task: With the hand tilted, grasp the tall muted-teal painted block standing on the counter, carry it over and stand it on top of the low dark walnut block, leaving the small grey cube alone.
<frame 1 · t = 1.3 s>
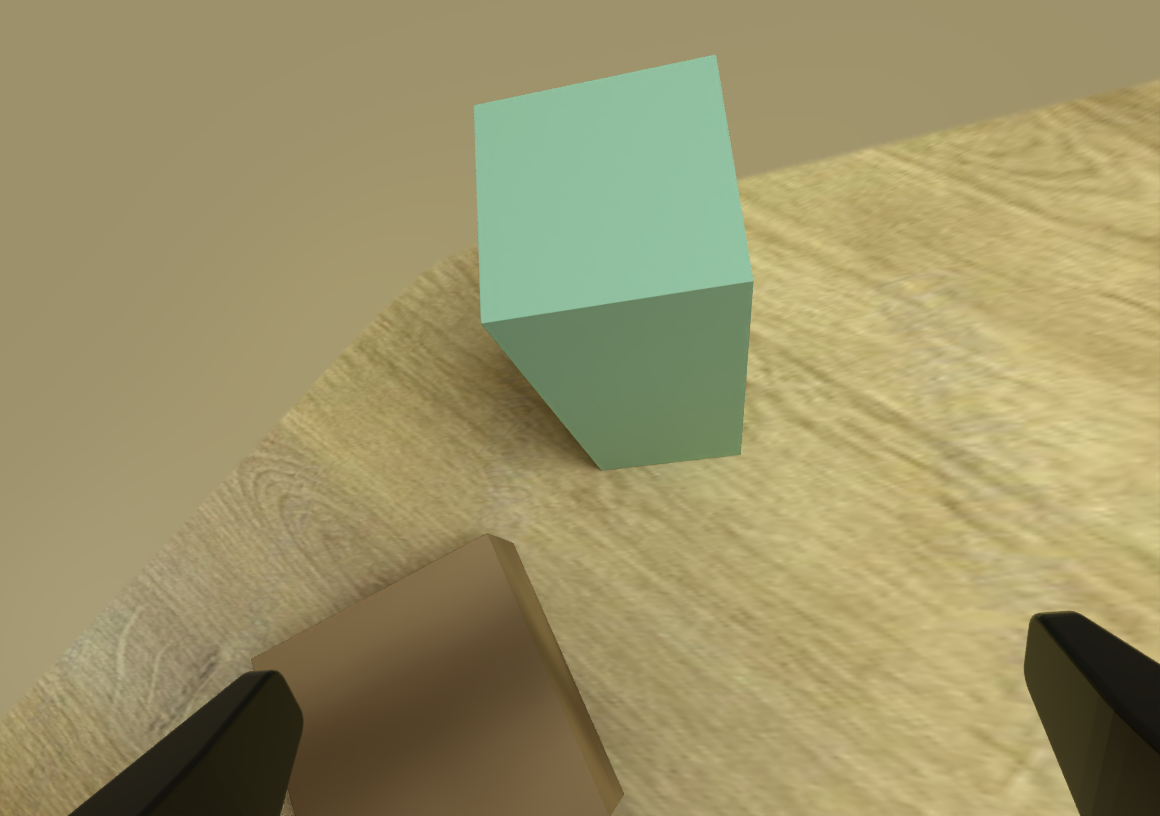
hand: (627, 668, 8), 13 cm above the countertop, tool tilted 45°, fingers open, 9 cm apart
teal block: (662, 396, 23), on the countertop
walnut block: (455, 718, 22), on the countertop
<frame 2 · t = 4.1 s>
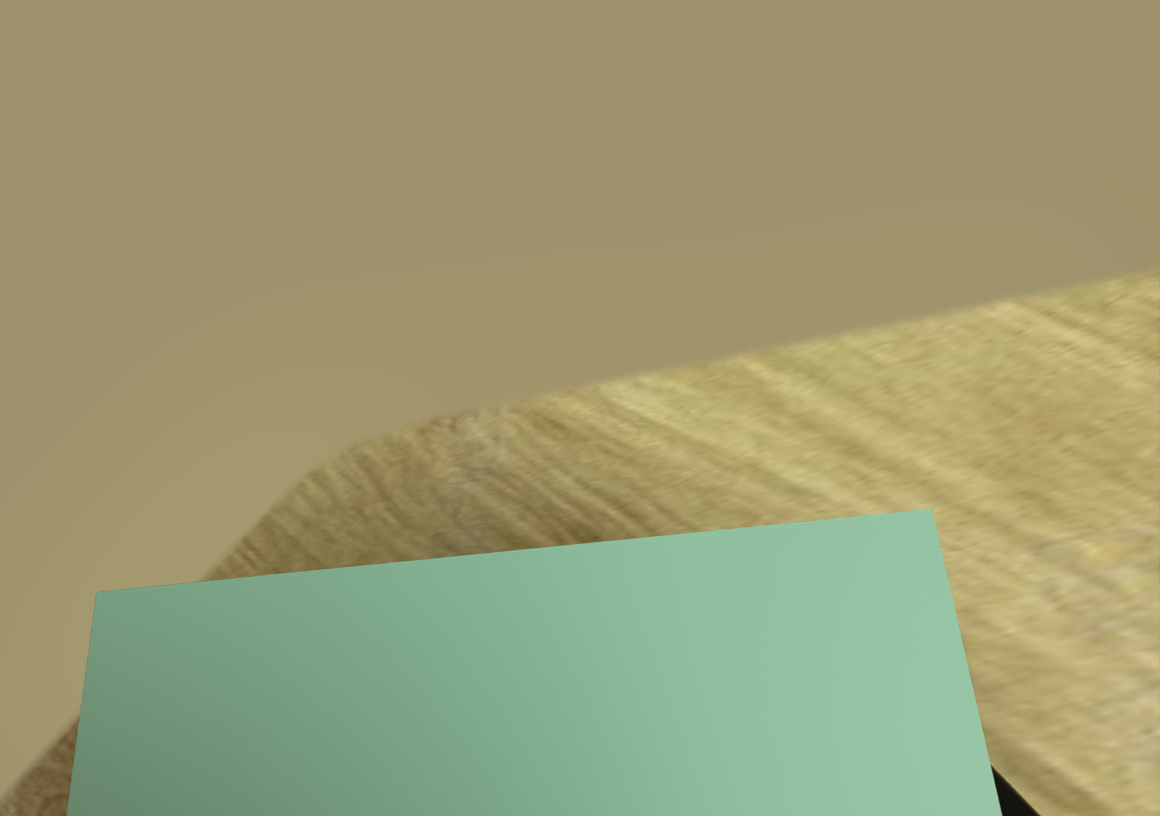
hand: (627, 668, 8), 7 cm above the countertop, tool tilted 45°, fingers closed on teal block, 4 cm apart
teal block: (677, 722, 14), on the countertop, touching gripper
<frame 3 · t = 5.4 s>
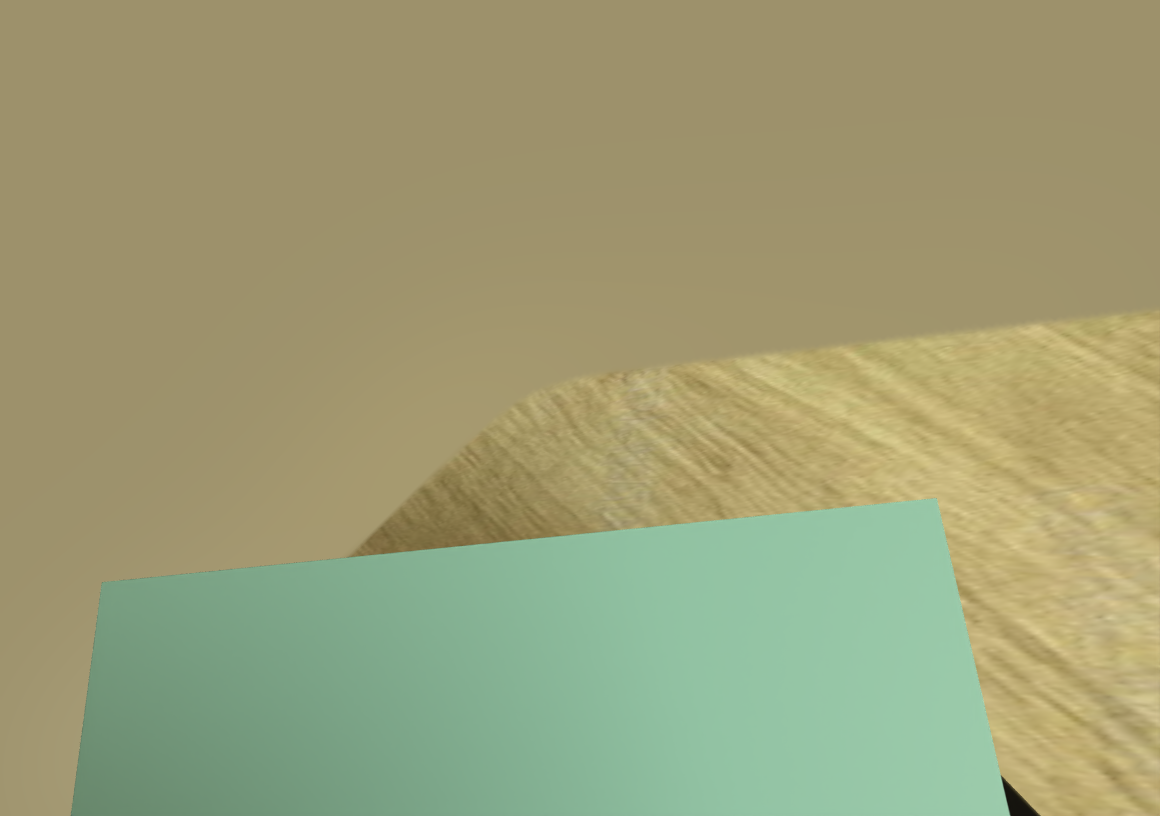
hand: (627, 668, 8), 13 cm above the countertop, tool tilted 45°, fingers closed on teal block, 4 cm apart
teal block: (678, 719, 14), point 7 cm above the countertop, touching gripper
when the fingers open (10 cm above the countertop, at t = 6.9 s): teal block drops 1 cm, resting on walnut block.
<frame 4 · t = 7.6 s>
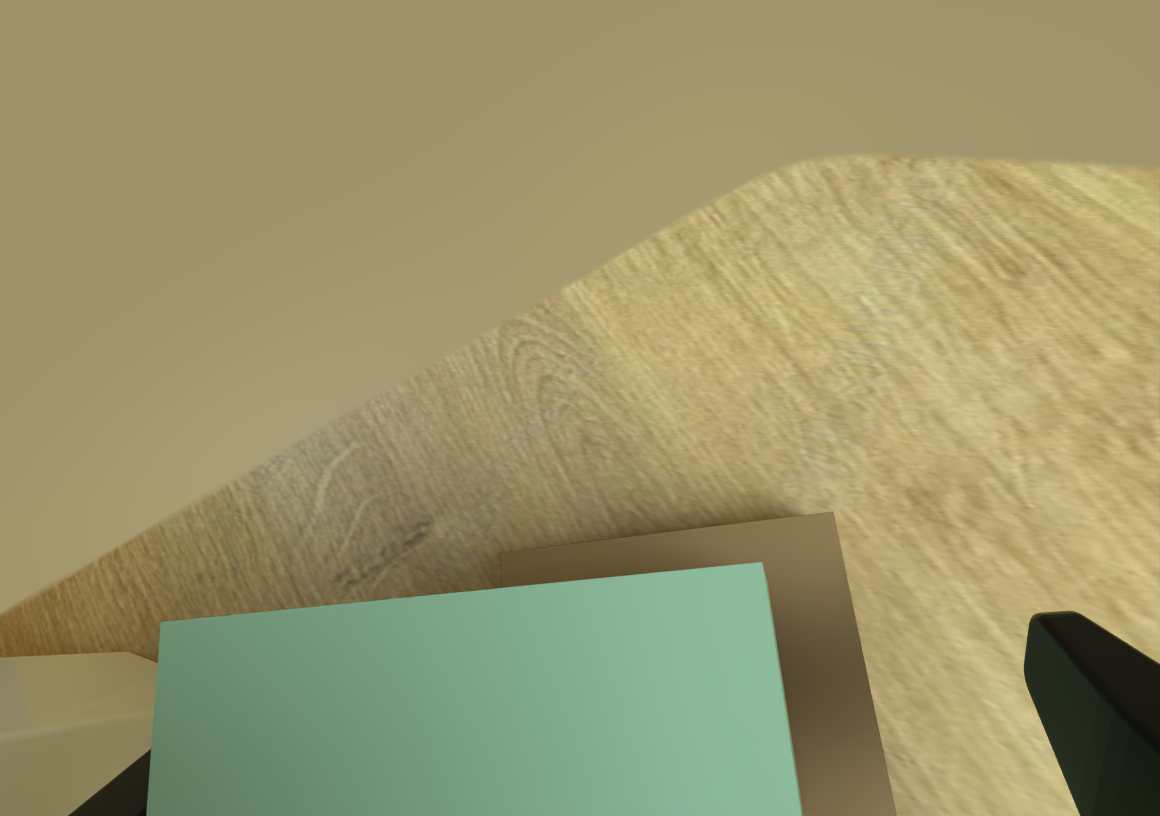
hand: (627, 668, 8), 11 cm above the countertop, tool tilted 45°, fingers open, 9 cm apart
teal block: (679, 697, 15), point 3 cm above the countertop, touching walnut block
walnut block: (690, 699, 18), on the countertop, touching teal block
jar: (141, 811, 20), on the countertop
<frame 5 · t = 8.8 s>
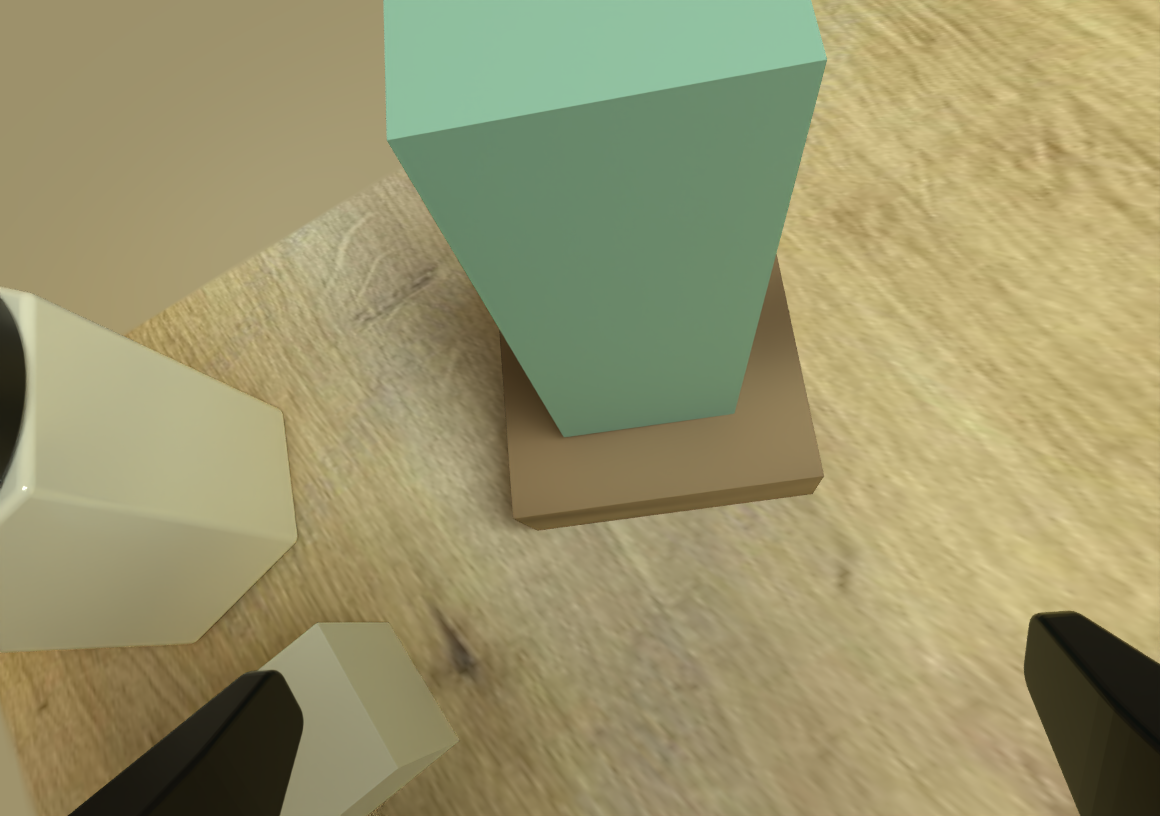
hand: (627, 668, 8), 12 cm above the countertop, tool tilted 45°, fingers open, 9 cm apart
teal block: (636, 347, 19), point 3 cm above the countertop, touching walnut block
walnut block: (653, 388, 22), on the countertop, touching teal block
jar: (193, 508, 24), on the countertop
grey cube: (370, 722, 20), on the countertop
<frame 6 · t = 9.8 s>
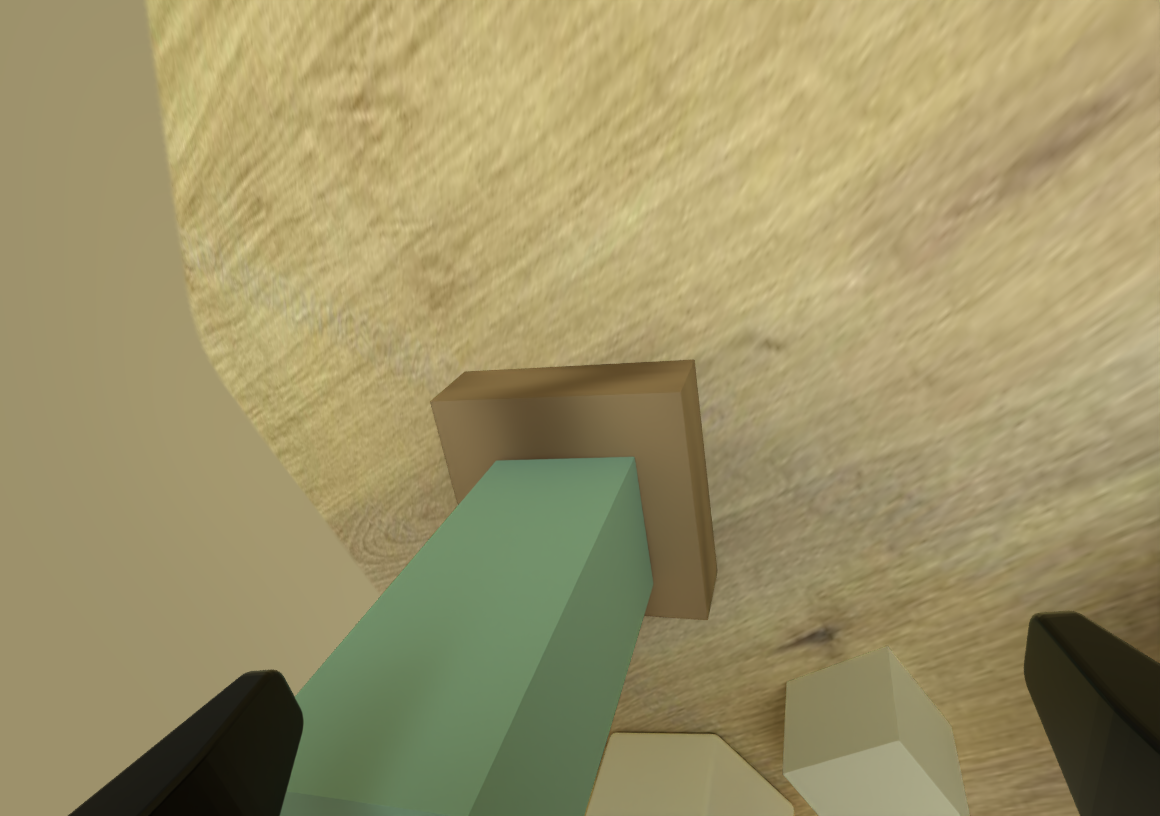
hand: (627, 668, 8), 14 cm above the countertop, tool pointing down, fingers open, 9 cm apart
teal block: (575, 522, 22), point 3 cm above the countertop
walnut block: (595, 466, 25), on the countertop
jar: (688, 793, 30), on the countertop
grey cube: (866, 701, 25), on the countertop
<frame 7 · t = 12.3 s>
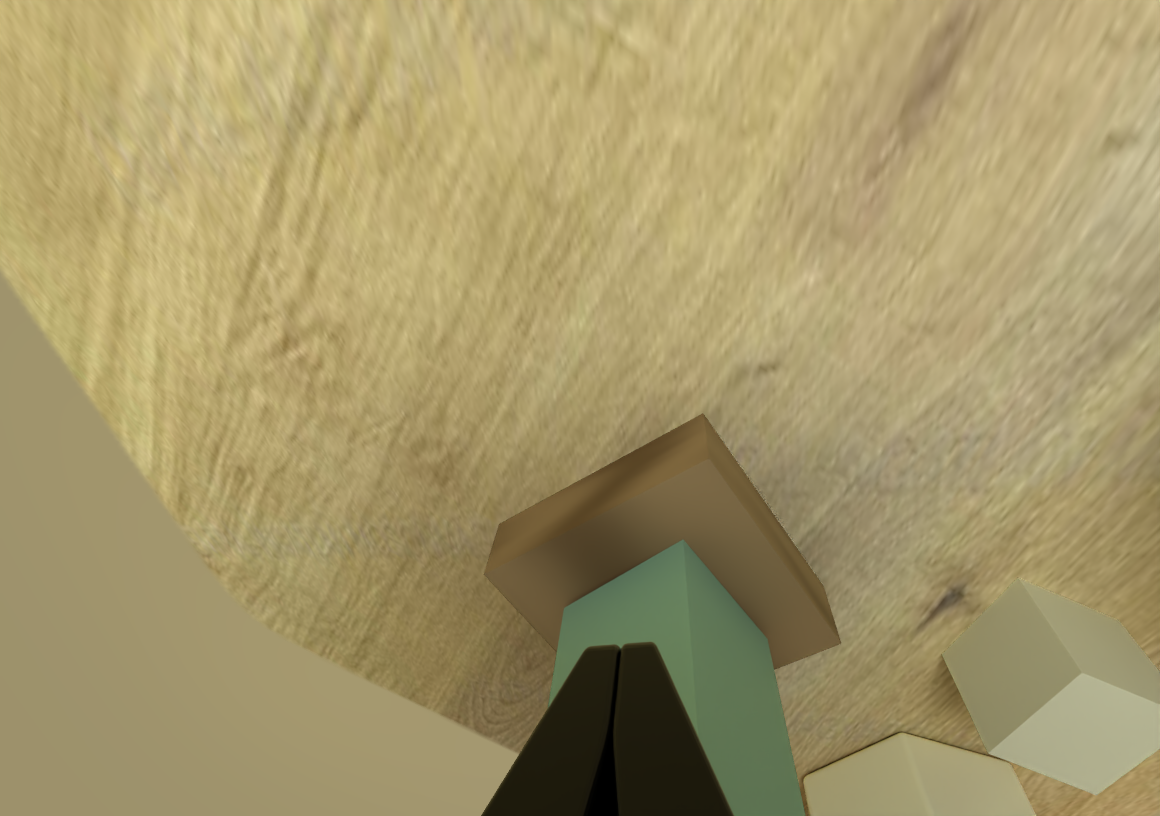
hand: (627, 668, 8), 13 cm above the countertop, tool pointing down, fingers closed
teal block: (665, 623, 22), point 3 cm above the countertop, touching walnut block
walnut block: (661, 546, 24), on the countertop, touching teal block
jar: (903, 796, 29), on the countertop
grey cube: (1026, 635, 24), on the countertop
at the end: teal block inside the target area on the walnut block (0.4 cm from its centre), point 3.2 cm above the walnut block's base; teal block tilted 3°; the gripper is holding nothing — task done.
